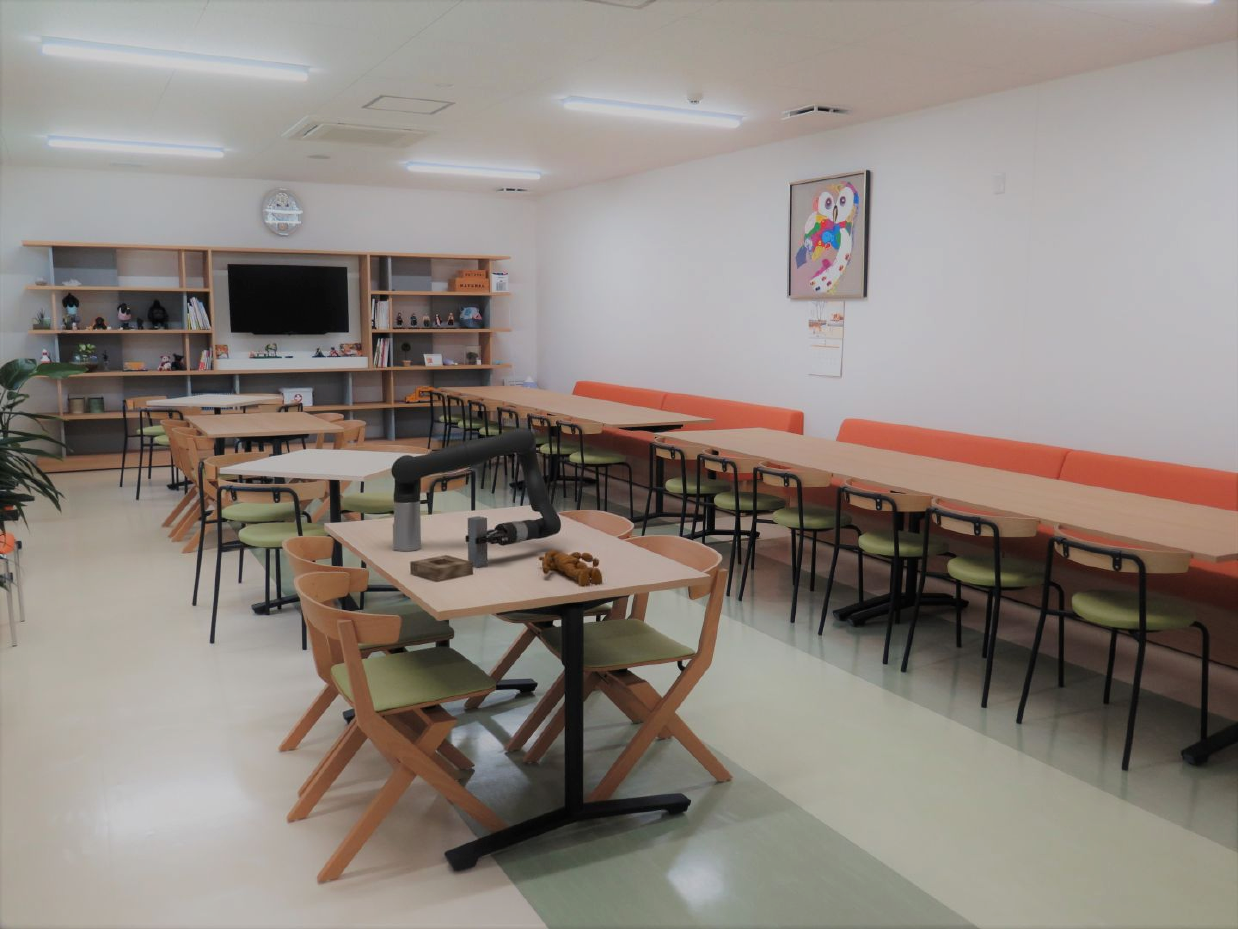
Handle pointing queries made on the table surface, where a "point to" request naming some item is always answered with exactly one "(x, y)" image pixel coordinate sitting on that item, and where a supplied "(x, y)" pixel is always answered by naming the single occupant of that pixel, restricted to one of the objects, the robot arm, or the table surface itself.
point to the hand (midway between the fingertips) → (471, 540)
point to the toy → (573, 566)
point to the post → (477, 551)
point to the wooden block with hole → (441, 568)
